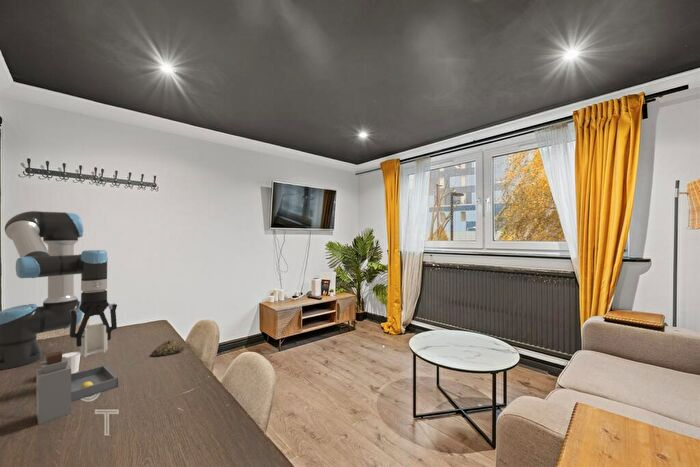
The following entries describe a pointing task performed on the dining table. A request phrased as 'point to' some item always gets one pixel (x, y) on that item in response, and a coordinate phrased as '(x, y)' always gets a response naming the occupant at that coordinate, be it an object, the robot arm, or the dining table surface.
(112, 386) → the tray
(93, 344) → the white u-shaped stool
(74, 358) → the shot glass
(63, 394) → the perfume bottle
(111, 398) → the dining table surface
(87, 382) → the ball
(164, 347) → the bread roll
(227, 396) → the dining table surface
